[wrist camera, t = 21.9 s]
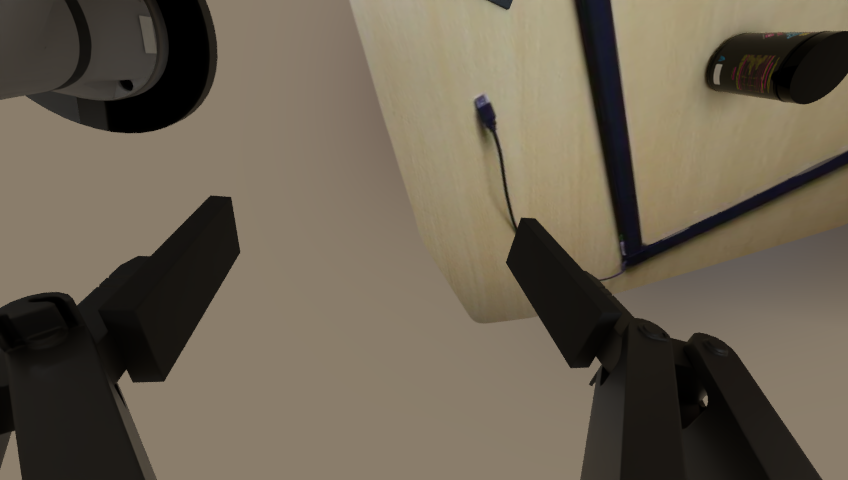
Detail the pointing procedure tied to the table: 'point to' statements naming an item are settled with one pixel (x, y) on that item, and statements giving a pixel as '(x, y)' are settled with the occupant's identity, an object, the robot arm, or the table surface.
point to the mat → (502, 3)
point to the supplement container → (781, 65)
